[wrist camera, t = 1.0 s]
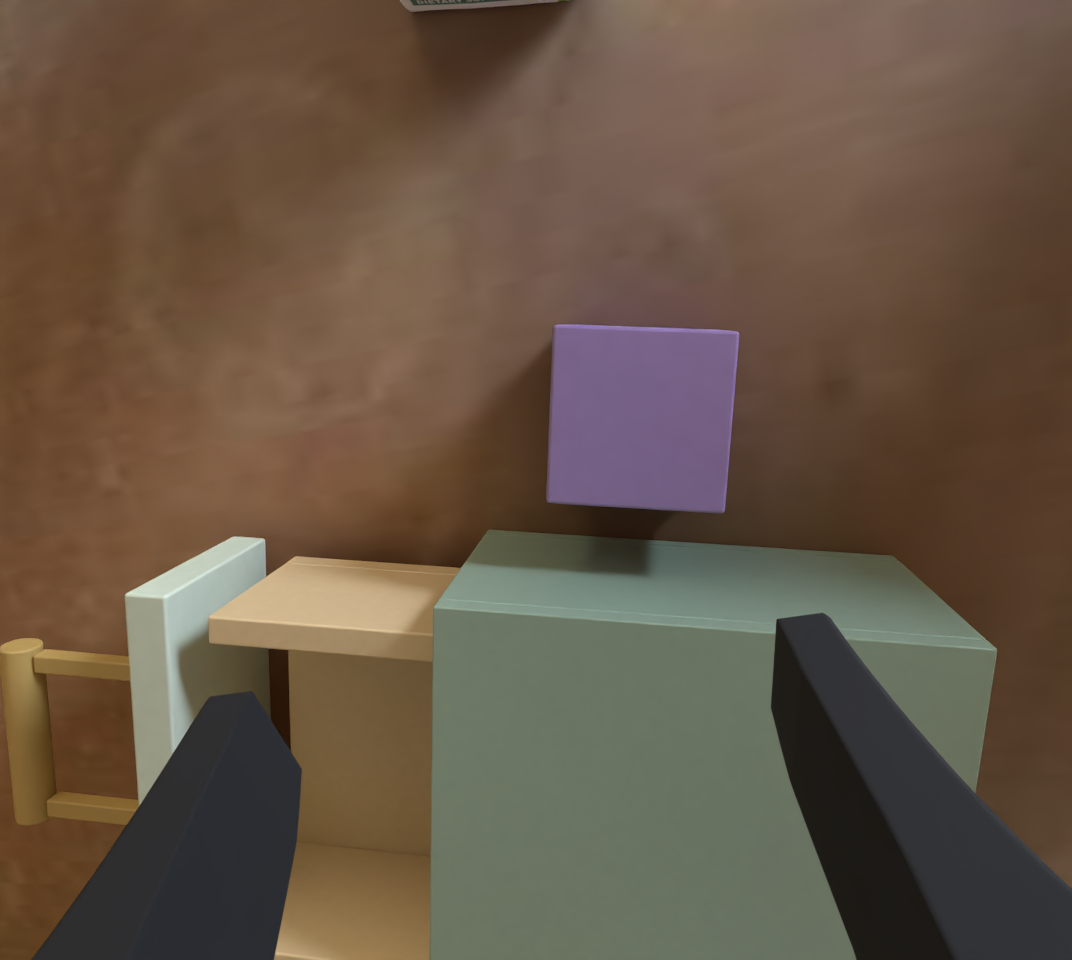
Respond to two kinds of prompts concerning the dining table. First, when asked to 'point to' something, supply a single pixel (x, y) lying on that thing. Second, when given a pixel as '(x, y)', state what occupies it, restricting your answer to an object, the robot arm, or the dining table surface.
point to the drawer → (315, 719)
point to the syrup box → (464, 4)
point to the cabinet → (655, 743)
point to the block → (641, 417)
